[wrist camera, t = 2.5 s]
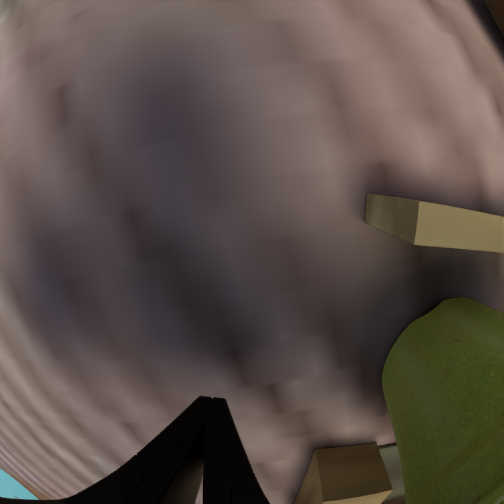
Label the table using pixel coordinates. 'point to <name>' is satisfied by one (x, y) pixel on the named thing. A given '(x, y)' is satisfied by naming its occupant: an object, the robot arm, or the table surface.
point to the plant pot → (449, 404)
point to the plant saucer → (497, 12)
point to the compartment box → (387, 457)
